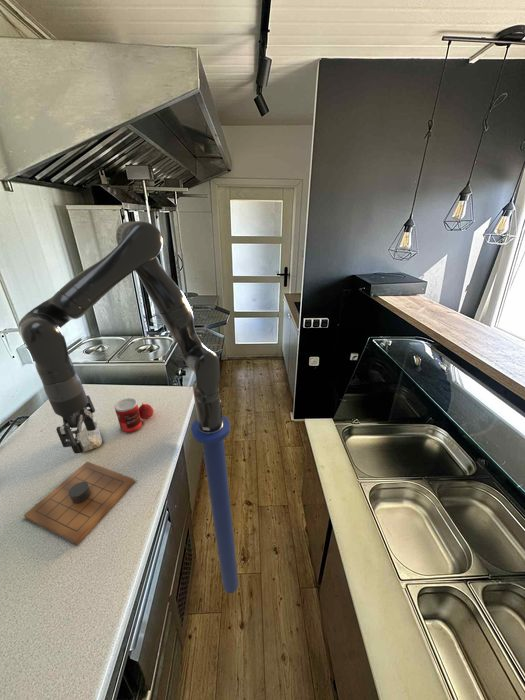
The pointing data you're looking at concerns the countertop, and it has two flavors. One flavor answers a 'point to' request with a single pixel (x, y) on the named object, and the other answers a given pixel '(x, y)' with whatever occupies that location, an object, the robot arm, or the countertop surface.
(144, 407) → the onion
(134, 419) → the canned food
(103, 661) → the countertop surface
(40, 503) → the grid board
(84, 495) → the black stone
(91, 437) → the stone
